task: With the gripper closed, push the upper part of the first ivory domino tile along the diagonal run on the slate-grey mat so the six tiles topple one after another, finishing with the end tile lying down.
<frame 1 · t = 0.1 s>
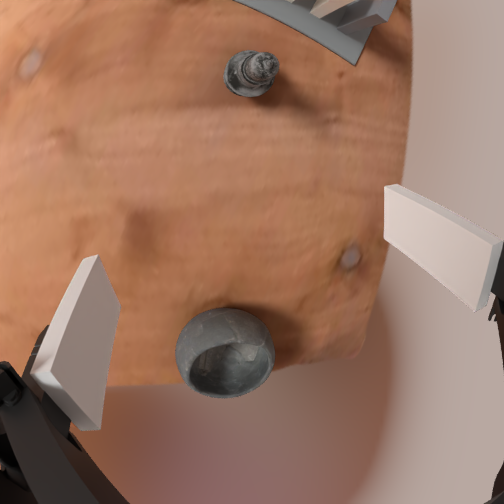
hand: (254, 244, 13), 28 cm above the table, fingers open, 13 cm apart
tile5: (321, 3, 30), resting on mat
bowl: (219, 328, 50), on the table
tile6: (347, 19, 32), resting on mat
grey chess piece: (244, 76, 34), on the table
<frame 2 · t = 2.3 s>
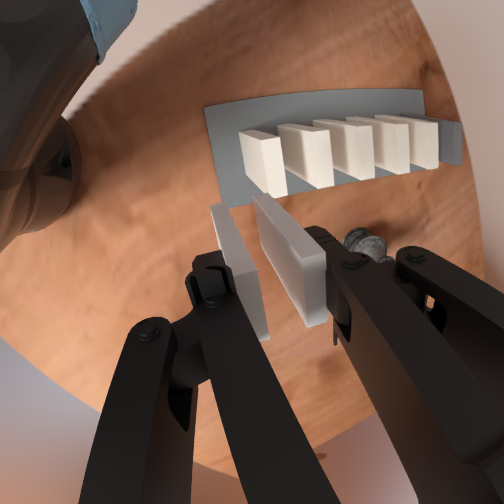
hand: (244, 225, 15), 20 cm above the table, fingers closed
mat: (336, 137, 35), on the table
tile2: (286, 145, 33), resting on mat
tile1: (249, 152, 33), resting on mat
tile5: (381, 133, 35), resting on mat
tile4: (353, 136, 35), resting on mat
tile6: (405, 131, 35), resting on mat
grey chess piece: (356, 244, 42), on the table
tile3: (321, 139, 34), resting on mat
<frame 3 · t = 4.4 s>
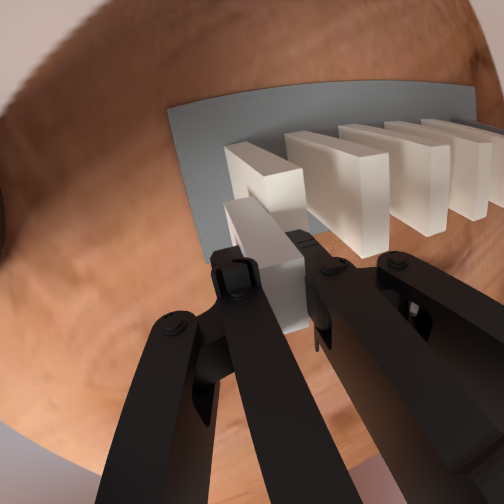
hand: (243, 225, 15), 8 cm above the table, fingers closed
mat: (369, 151, 23), on the table
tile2: (299, 164, 22), resting on mat
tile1: (241, 177, 21), resting on mat, touching gripper
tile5: (427, 145, 23), resting on mat
tile4: (393, 149, 23), resting on mat
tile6: (456, 142, 24), resting on mat
tile3: (349, 155, 22), resting on mat
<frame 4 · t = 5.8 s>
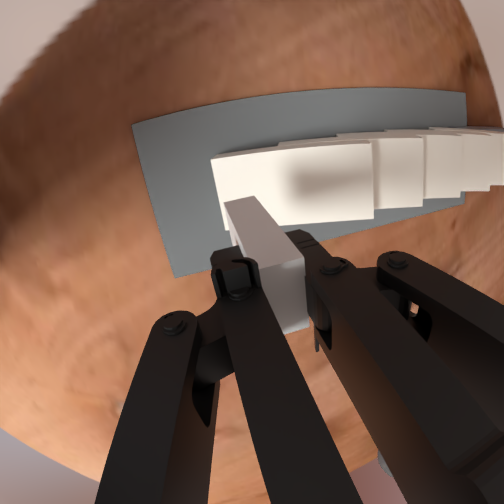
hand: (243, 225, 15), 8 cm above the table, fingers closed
mat: (346, 163, 23), on the table
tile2: (283, 178, 21), point 1 cm above the table, tilted 69°, touching mat, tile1, tile3
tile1: (221, 192, 21), point 1 cm above the table, tilted 69°, touching mat, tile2
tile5: (432, 155, 22), point 1 cm above the table, tilted 68°, touching tile4, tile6
tile4: (388, 161, 22), point 1 cm above the table, tilted 68°, touching mat, tile3, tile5
tile3: (340, 168, 22), point 1 cm above the table, tilted 69°, touching mat, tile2, tile4
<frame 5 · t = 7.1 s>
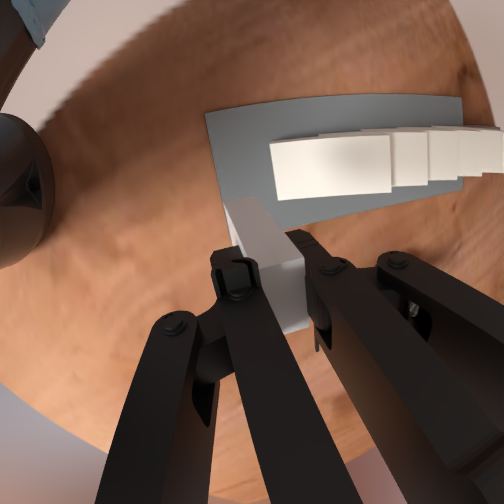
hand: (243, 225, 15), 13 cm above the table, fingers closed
mat: (367, 152, 28), on the table
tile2: (321, 162, 26), point 1 cm above the table, tilted 69°, touching mat, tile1, tile3
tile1: (274, 170, 26), point 1 cm above the table, tilted 69°, touching mat, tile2
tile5: (434, 148, 28), point 1 cm above the table, tilted 68°, touching tile4, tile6
tile4: (399, 151, 27), point 1 cm above the table, tilted 68°, touching mat, tile3, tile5
tile3: (363, 155, 27), point 1 cm above the table, tilted 69°, touching mat, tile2, tile4
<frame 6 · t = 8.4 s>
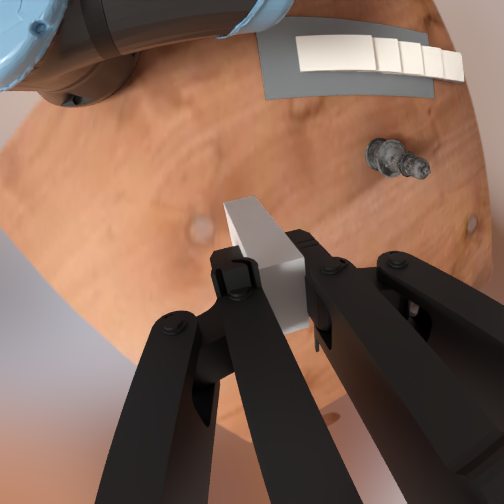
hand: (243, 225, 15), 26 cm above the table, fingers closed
mat: (359, 56, 36), on the table
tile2: (328, 54, 34), point 1 cm above the table, tilted 69°, touching mat, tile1, tile3
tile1: (298, 54, 33), point 1 cm above the table, tilted 69°, touching mat, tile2
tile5: (407, 60, 35), point 1 cm above the table, tilted 68°, touching tile4, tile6
tile4: (381, 57, 35), point 1 cm above the table, tilted 68°, touching mat, tile3, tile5
grey chess piece: (378, 154, 43), on the table
tile3: (356, 55, 34), point 1 cm above the table, tilted 69°, touching mat, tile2, tile4
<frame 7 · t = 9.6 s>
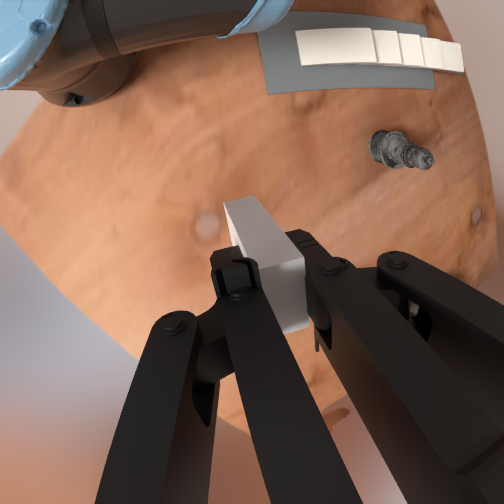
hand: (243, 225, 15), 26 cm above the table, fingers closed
mat: (359, 49, 35), on the table
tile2: (328, 48, 33), point 1 cm above the table, tilted 69°, touching mat, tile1, tile3
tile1: (298, 48, 33), point 1 cm above the table, tilted 69°, touching mat, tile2
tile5: (407, 52, 35), point 1 cm above the table, tilted 68°, touching tile4, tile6
tile4: (381, 50, 35), point 1 cm above the table, tilted 68°, touching mat, tile3, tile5
grey chess piece: (381, 146, 43), on the table
tile3: (356, 48, 34), point 1 cm above the table, tilted 69°, touching mat, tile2, tile4
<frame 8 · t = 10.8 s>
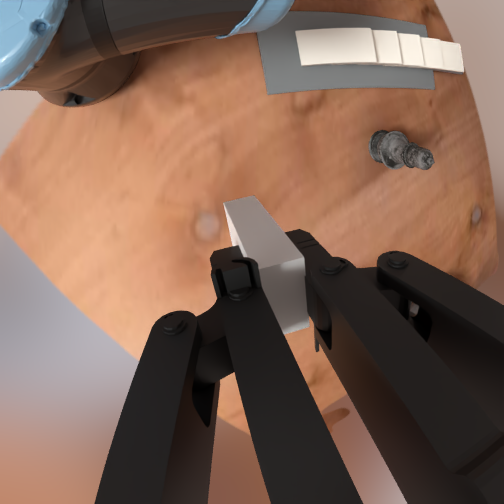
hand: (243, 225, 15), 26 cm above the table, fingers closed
mat: (359, 49, 35), on the table
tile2: (328, 48, 33), point 1 cm above the table, tilted 69°, touching mat, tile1, tile3
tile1: (298, 48, 33), point 1 cm above the table, tilted 69°, touching mat, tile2
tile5: (407, 52, 35), point 1 cm above the table, tilted 68°, touching tile4, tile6
tile4: (381, 50, 35), point 1 cm above the table, tilted 68°, touching mat, tile3, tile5
grey chess piece: (381, 146, 43), on the table
tile3: (356, 48, 34), point 1 cm above the table, tilted 69°, touching mat, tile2, tile4
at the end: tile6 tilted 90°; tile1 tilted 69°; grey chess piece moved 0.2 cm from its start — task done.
